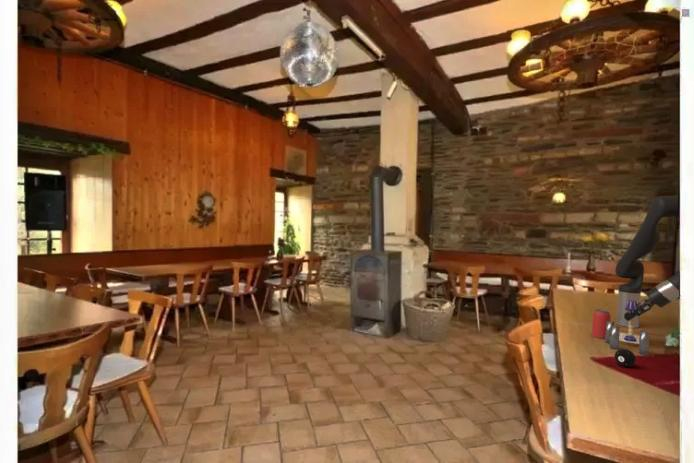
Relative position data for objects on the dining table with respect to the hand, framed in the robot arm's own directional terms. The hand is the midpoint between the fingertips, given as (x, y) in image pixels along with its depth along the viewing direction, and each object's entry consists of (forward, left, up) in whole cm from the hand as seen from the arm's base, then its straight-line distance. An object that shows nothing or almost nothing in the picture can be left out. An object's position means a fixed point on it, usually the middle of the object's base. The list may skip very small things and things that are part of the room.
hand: (625, 317), depth 164 cm
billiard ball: (+31, +9, -12) cm, 34 cm away
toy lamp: (-1, +2, -9) cm, 10 cm away
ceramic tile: (-12, -1, -11) cm, 17 cm away
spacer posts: (+6, +2, -11) cm, 13 cm away
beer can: (-4, -10, -12) cm, 16 cm away
